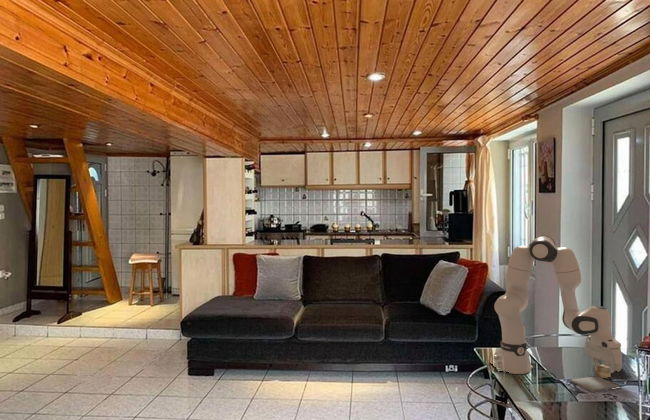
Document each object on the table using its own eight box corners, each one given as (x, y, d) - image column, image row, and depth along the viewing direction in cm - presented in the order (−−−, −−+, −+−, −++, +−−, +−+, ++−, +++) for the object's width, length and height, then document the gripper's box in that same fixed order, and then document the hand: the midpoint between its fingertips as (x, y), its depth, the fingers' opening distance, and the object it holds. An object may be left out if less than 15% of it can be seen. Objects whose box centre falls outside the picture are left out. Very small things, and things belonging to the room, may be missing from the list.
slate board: (570, 381, 224) (570, 379, 224) (597, 378, 227) (597, 376, 227) (592, 392, 210) (592, 389, 210) (620, 388, 213) (620, 386, 213)
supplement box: (622, 368, 239) (621, 342, 239) (619, 372, 233) (617, 346, 233) (605, 365, 244) (604, 340, 244) (601, 369, 238) (600, 344, 238)
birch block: (595, 375, 230) (594, 365, 230) (603, 374, 231) (603, 364, 231) (602, 378, 226) (601, 368, 226) (610, 377, 227) (610, 367, 227)
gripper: (580, 335, 238) (582, 363, 238) (611, 346, 218) (613, 376, 217) (591, 334, 239) (593, 362, 239) (623, 344, 219) (626, 375, 218)
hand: (603, 369), depth 228 cm, fingers open, 8 cm apart
